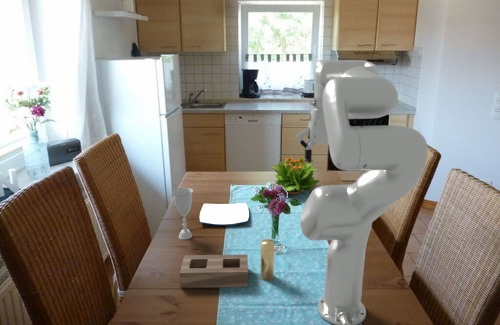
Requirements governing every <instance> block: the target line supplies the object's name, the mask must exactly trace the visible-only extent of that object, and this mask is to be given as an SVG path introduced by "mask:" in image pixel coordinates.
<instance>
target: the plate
mask: <svg viewBox="0 0 500 325" xmlns="http://www.w3.org/2000/svg"><path fill="white" fill-rule="evenodd" d="M249 211H250V210H249V207H248V205H247V203H246V202H244V203H242V202H241V203H240V202H239V203H222V204H221V203H219V204H218V203H203V205H202V207H201V210H200V212H199V222H200V224H202V225H206V226H207V225H208V226H218V227H219V226H220V227H221V226H223V227H224V226H225V227H227V226H237V225H242V224H243V225H244V224H246V223H248V221H249V219H250V212H249Z"/></svg>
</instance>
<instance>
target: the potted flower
mask: <svg viewBox="0 0 500 325" xmlns="http://www.w3.org/2000/svg"><path fill="white" fill-rule="evenodd" d="M312 165H313V163H312V162H311V163H308V162H307V161H306V160H305V158H304V157H302V156H300V157H299V159H294V157H287V158H285V162H283V161H280V160H279V161H278V163H277V165H276V164H275V165H272V166H270V168H271V169H274V172H276V173H277V174H276V175H275V177H276V178H277V180H275V183H276V185H277V184H278V185H277V186H280V185H282V186H283V187H284V188H285V190H286V191H287V192H288V194H287V195H300V194H301V193H302V192H303V191H307V192H308V191H309V190H310V189H311V188H312V187H313V186H315V185H317V184H318V183H319V182H320V180H319V179H315V177H313V176H314V172H318V171H319V169H318V168H316V167H315V166H312Z"/></svg>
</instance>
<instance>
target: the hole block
mask: <svg viewBox="0 0 500 325" xmlns="http://www.w3.org/2000/svg"><path fill="white" fill-rule="evenodd" d="M248 256H249V255H248V254H206V255H205V254H204V255H201V254H200V255H199V254H196V255H192V254H191V255H189V254H188V255H184V256H183V260H182V263H181V267H180V270H179V282H180V286H179V287H180V288H182V289H185V288H187V289H189V288H191V289H192V288H197V289H198V288H246V287H249V262H248V261H249V260H248V259H249V258H248Z"/></svg>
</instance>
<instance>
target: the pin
mask: <svg viewBox="0 0 500 325" xmlns="http://www.w3.org/2000/svg"><path fill="white" fill-rule="evenodd" d="M274 267H275V240H273V239H269V238H263V239H261V241H260V278H261V280H262V281H268V282H269V281H272V280H274V277H275V276H274V274H275V268H274Z"/></svg>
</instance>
